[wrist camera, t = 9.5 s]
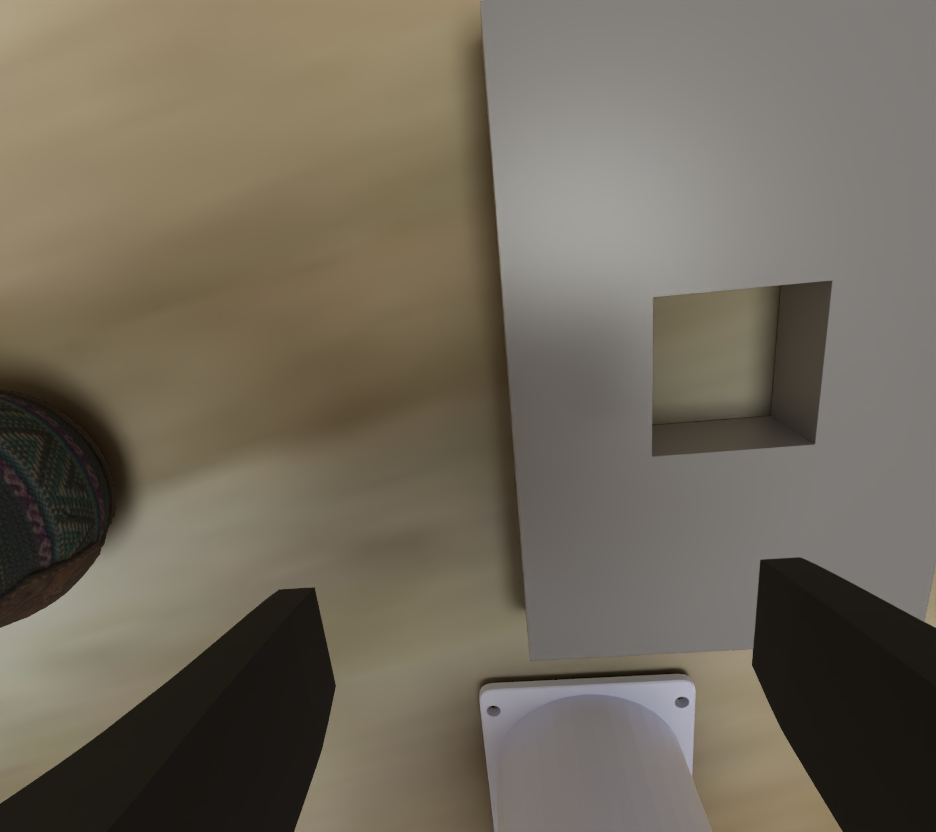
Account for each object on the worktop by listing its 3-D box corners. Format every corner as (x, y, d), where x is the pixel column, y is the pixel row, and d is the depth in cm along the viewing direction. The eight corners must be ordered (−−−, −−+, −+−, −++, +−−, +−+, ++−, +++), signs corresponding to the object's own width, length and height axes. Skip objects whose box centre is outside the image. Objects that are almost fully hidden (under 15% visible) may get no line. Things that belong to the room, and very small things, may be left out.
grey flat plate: (867, 590, 19) (921, 640, 17) (525, 610, 20) (530, 660, 18) (960, -22, 14) (1059, -75, 11) (481, 39, 15) (480, 0, 12)
